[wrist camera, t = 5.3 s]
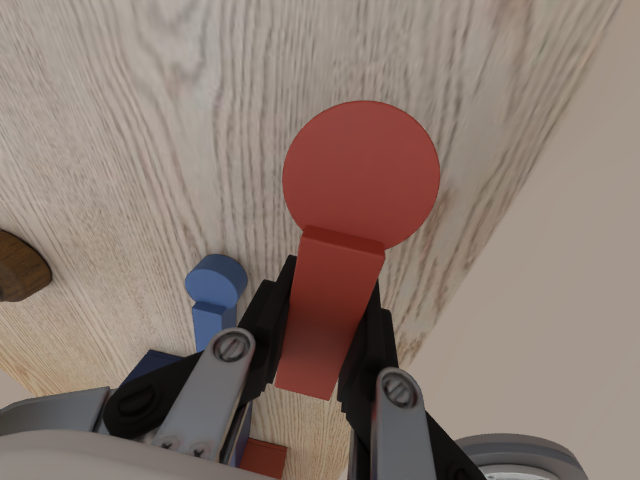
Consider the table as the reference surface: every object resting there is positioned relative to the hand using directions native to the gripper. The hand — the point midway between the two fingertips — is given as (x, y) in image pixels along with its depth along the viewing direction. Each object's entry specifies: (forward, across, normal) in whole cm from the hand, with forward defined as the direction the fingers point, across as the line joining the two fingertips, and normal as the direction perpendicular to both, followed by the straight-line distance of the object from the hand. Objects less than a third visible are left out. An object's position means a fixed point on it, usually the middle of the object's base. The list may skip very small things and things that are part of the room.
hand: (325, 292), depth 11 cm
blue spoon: (+7, +8, +10) cm, 15 cm away
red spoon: (0, 0, -2) cm, 2 cm away
